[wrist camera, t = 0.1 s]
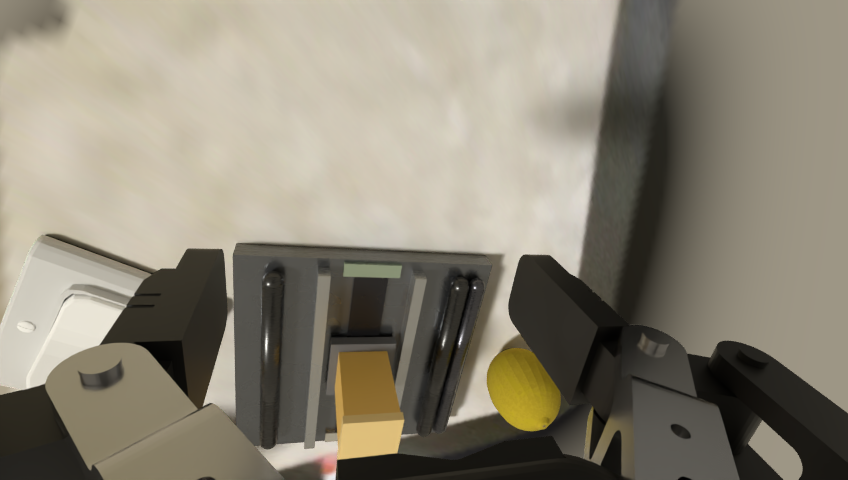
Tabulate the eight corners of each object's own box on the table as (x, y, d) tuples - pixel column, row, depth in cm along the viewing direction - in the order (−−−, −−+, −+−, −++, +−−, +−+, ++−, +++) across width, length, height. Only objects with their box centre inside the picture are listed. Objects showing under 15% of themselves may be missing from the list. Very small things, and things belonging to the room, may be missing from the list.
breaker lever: (330, 337, 31) (335, 417, 25) (394, 336, 33) (413, 412, 27) (325, 387, 34) (328, 472, 27) (385, 385, 35) (401, 465, 29)
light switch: (-52, 416, 26) (4, 266, 22) (-8, 365, 30) (47, 227, 26) (139, 452, 31) (213, 334, 27) (157, 405, 35) (226, 294, 31)
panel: (236, 243, 28) (229, 265, 26) (485, 255, 33) (499, 275, 31) (239, 431, 36) (233, 462, 34) (441, 418, 41) (449, 444, 39)
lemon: (541, 333, 39) (590, 402, 32) (516, 378, 41) (557, 452, 34) (488, 325, 37) (529, 397, 30) (465, 373, 39) (498, 451, 32)
